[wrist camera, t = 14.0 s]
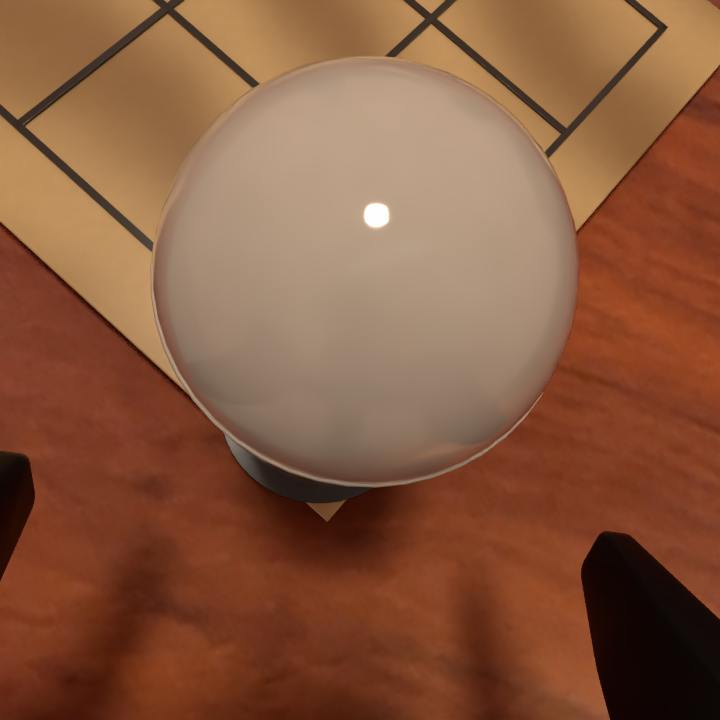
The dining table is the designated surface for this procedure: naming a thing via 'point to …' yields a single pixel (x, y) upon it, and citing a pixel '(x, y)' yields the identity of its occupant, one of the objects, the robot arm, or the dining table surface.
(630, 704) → the robot arm
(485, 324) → the dome-capped cylinder
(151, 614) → the dining table surface
